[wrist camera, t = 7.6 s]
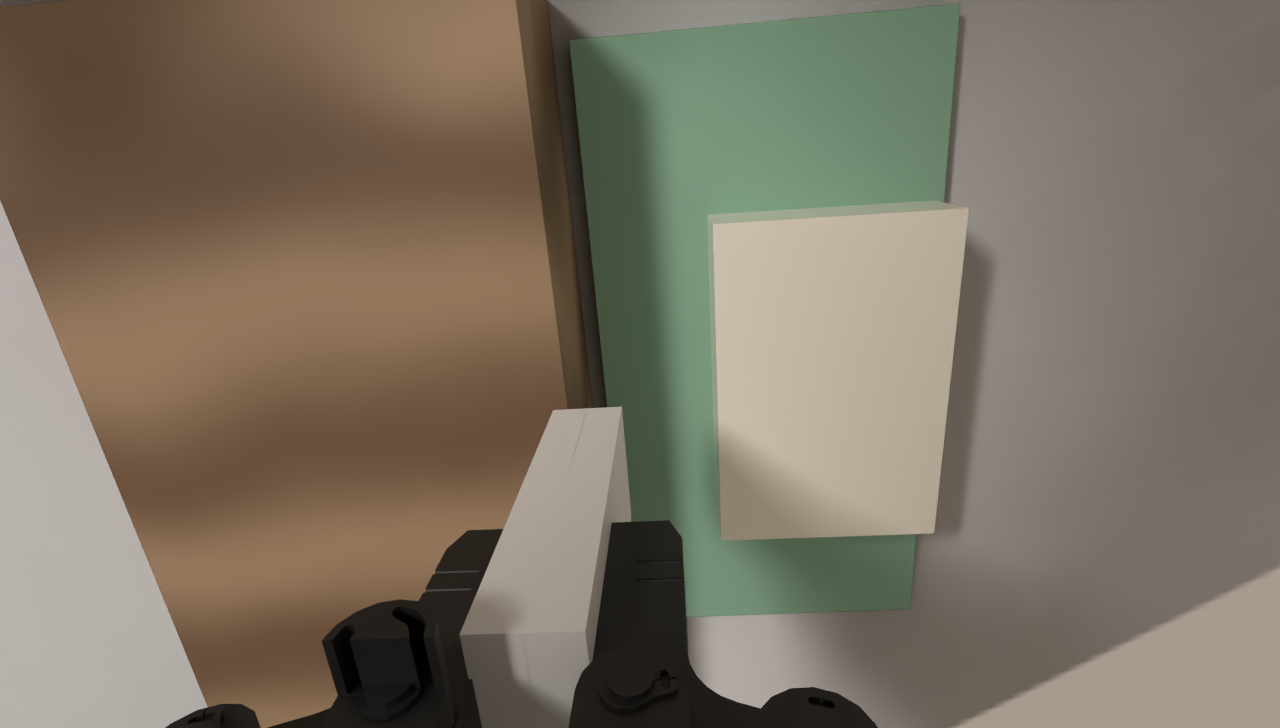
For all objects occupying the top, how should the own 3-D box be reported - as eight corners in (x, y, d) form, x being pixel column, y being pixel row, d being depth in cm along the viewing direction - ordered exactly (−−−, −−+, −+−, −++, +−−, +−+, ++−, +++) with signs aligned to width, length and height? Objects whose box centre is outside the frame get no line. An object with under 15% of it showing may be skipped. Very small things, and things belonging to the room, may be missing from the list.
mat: (571, 42, 16) (569, 40, 16) (952, 7, 15) (960, 3, 15) (629, 610, 22) (629, 619, 22) (905, 600, 21) (909, 609, 21)
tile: (969, 208, 15) (934, 200, 17) (712, 224, 15) (707, 214, 17) (934, 533, 18) (908, 495, 20) (721, 540, 18) (715, 502, 20)
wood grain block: (94, 43, 16) (-76, 15, 13) (546, -1, 16) (510, -45, 12) (295, 645, 23) (223, 744, 19) (618, 634, 22) (609, 734, 19)
